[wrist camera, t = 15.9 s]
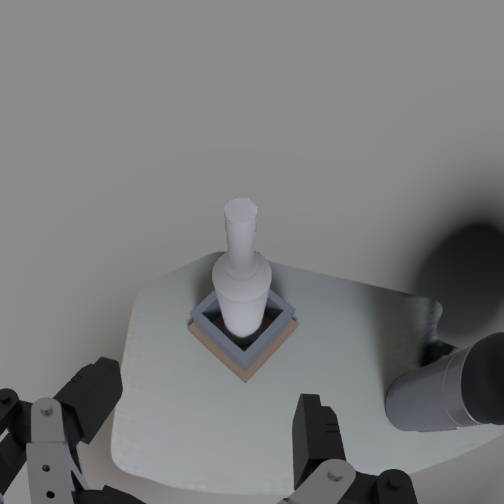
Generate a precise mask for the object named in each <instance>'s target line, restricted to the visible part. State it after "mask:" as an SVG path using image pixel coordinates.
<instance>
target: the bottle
mask: <svg viewBox="0 0 504 504" xmlns="http://www.w3.org/2000/svg"><path fill="white" fill-rule="evenodd" d="M224 216H225V226H226V232H227V240H228V252H226V253H225V254H223V255H222V256H221V257H219V258H218V260H217V261H216V263H215V265H214V266H213V272H212V280H213V284H214V287H215V291H216V295H217V298H218V302H219V305H220V309H221V312H222V316H223V319H224V330H225V333H226V336H227V337H228V338H229V339H230V340H231V341H232V342H234V343H236V344H239V345H247V344H250V343H253V342H254V341H255V340H256V339H257V338H258V337H259V335H260V333H261V331H262V318H263V314H264V310H265V306H266V302H267V297H268V293H269V289H270V285H271V278H272V270H271V268H270V265H269V263H268V261H267V260H266V259H265V258H264V257H263V256H262V255H261V254H260V253H258V252H256V251H254V248H255V232H256V224H257V207H256V205H255V203H254V202H252V201H251V200H249V199H246V198H236V199H232V200H231V201H230V202H228V203H227V205H226V206H225V210H224Z"/></svg>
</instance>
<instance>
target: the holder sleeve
mask: <svg viewBox="0 0 504 504" xmlns="http://www.w3.org/2000/svg"><path fill="white" fill-rule="evenodd" d="M295 310H296V309H294V308H293V307H292V306H291V305H289V304H288V303H287V302H286V301H284V300H283V299H282V298H281V297H279V296H278V295H277V294H276V293H275V292H273V291H272V290H271V289H269V293H268V297H267V302H266V306H265V310H264V314H263V318H262V331H261V333H260V335H259V337H258V338H257V339H256V340H255V341H254V342H253V343H250V344H247V345H239V344H236V343H234V342H232V341H231V340H230V339H229V338H228V337H227V336H226V333H225V330H224V319H223V316H222V312H221V309H220V305H219V302H218V298H217V295H216V291H215V290H214V291H213V292H212V293H211V294H209V295H208V296H207V297H206V298H205V299H204V300H203V301H202V302H201V303H200V304H199V305H198V306H196V307H195V308H194V309H193V310H192V311H191V312H190V315H191V317H192V319H193V321H194V322H193V323H192V324H191V325H189V326H188V327H187V329H188V330H189V331H190V332H191V333H192V334H193V335H194V336H195V337H196V338H197V339H198V340H199V341H200V342H201V343H202V344H203V345H204V346H205V347H206V348H207V349H208V350H209V351H211V352H212V353H213V354H214V355H215V356H216V357H217V358H218V359H219V360H220V361H221V362H222V363H223V364H225V365H226V366H227V367H228V368H229V369H230V370H231V371H232V372H233V373H234V374H236V375H237V376H238V377H239V378H240V379H241V380H242V381H244V382H245V383H246V382H247V381H248V380H249V379H250V378H251V377H252V376H253V375H254V374H255V372H256V371H257V370H258V369H259V368H260V367H261V366H262V365H263V364H264V363H265V362H266V361H267V360H268V359H269V358H270V356H271V355H272V354H273V353H274V352H275V351H276V350H277V349H278V348H279V347H280V346H281V344H282V343H283V342H284V341H285V340H286V339H287V338H288V337H289V335H290V334H291V333H292V332H293V331H294V330H295V329H296V328H297V326H298V325H299V324H298V323H297V322H296V321H294V320H293V319H292V317H293V314H294V312H295Z"/></svg>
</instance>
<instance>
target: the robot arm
mask: <svg viewBox="0 0 504 504" xmlns="http://www.w3.org/2000/svg"><path fill="white" fill-rule="evenodd" d="M122 391H123V386H122V380H121V374H120V367H119V363H118V361H116V360H112V359H109V358H106V357H101V358H99V359H98V361H97V362H96V363H95V364H94V365H93V364H89V365H87V366H85V367H83V368H81V369H80V370H79V371H78V372H77V373H76V376H74V377H73V378H72V379H71V381H69V382H68V383H67V384H66V385H65V386H64V387H63V388H62V389H61V390H60V391H59V392H58V393H57V394H56V395H55V396H54V397H53V398H41V399H38V400H37V401H35V402H34V403H29V402H25V401H21V400H19V398H18V395H17V393H16V392H15V391H13V390H12V389H8V388H5V389H1V390H0V435H1V434H2V433H3V432H4V430H5V429H6V428H7V430H8V432H9V433H8V434H7V435H6V436H5V438H4V439H3V440H2V441H1V442H0V504H4V499H3V495H4V494H5V492H6V491H7V489H8V487H9V486H10V484H11V482H12V481H13V480H14V478H15V477H16V475H17V474H18V472H19V471H20V469H21V468H22V466H23V465H24V463H25V462H26V460H27V469H28V479H29V488H30V495H31V502H32V504H146V503H144V502H142V501H141V500H139V499H137V498H135V497H134V496H132V495H130V494H127V493H125V492H122V491H119V490H117V489H114V488H112V487H109V486H107V485H105V486H104V488H103V490H90V489H89V487H88V485H87V482H86V479H85V476H84V472H83V467H82V463H81V459H80V455H79V450H78V446H77V444H78V443H79V441H82V442H84V443H86V444H90V442H91V440H92V439H93V438H94V436H95V435H96V433H97V432H98V430H99V429H100V427H101V426H102V424H103V423H104V421H105V420H106V418H107V417H108V415H109V414H110V413H111V411H112V409H113V408H114V407H115V405H116V404H117V402H118V401H119V399H120V398H121V395H122ZM385 405H386V413H387V417H388V418H389V420H390V422H391V423H392V424H393V425H394V426H395V427H396V428H398V429H400V430H403V431H419V432H434V431H449V430H457V429H459V428H460V427H468V426H474V425H481V424H489V423H492V424H495V425H504V333H503V332H499V333H494V334H492V335H489V336H487V337H486V338H484V339H482V340H480V341H478V342H476V343H474V344H472V345H470V346H468V347H466V348H464V349H462V350H460V351H458V352H456V353H454V354H452V355H450V356H448V357H445V358H443V359H441V360H439V361H436V362H434V363H432V364H429V365H427V366H425V367H422V368H420V369H417V370H415V371H412V372H409V373H407V374H404V375H402V376H401V377H399V378H398V379H397V380H396V381H394V383H393V384H392V385H391V387H390V389H389V391H388V394H387V397H386V404H385ZM292 440H293V468H294V490H296V491H295V492H293V493H292V494H291V495H290V496H289V497H288V498H284V499H282V500H281V501H280V502H278V503H277V504H418V503H417V499H416V495H415V492H414V488H413V485H412V481H411V479H410V477H409V476H408V474H406V473H405V472H403V471H401V470H397V469H390V470H386V471H384V472H382V473H381V474H380V475H379V476H375V475H369V474H364V473H360V472H357V471H355V469H354V468H353V466H352V465H351V464H349V463H348V462H347V461H346V457H345V453H344V448H343V443H342V439H341V434H340V429H339V426H338V420H337V416H336V414H335V413H334V411H333V410H332V409H331V408H330V406H321V402H320V397H319V395H318V394H301V395H300V397H299V401H298V405H297V408H296V412H295V415H294V419H293V425H292Z"/></svg>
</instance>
